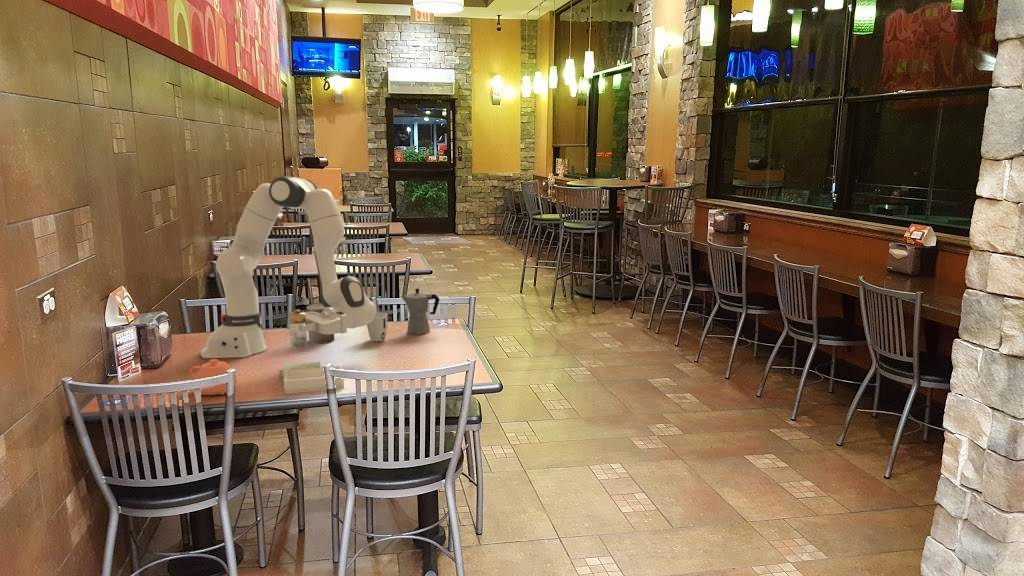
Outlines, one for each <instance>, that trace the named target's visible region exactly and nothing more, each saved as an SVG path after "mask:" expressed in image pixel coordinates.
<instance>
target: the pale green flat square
mask: <svg viewBox="0 0 1024 576" xmlns="http://www.w3.org/2000/svg"><path fill="white" fill-rule="evenodd" d="M320 367H321V361H312V362H301V363H300V362H299V363H288V364H286V363H285V364H283V365H282V372H281V380H282V381H284V375H285V371H286V370H297V369H309V368H320Z"/></svg>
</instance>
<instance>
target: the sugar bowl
mask: <svg viewBox="0 0 1024 576" xmlns="http://www.w3.org/2000/svg"><path fill="white" fill-rule="evenodd" d="M195 369H197V372H196V374H195V375H194V372H193V370H195ZM229 369H232V368H231V366H230V365H229V364H228V363H227V362H225V361H219V360H218V358H210V359H209V360H208V362H205V363H203V364H202V365H201V366H200V365H193V366H192V367H190V369H189V376H190V379H191V380H194V379H201V378H206V377H213V376H218V375H223V374H225V373H226V372H227V370H229ZM237 384H238V379H237V375H236V374H235V386H237ZM201 393H202V394H203V395H206V396H214V395H215V396H217V395H218V394H222V393H225V384H220V385H216V386H213V387H209V388H205V389H202V390H201ZM202 394H201V395H202ZM225 394H226V393H225ZM203 395H202V396H203Z"/></svg>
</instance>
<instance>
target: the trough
mask: <svg viewBox="0 0 1024 576" xmlns="http://www.w3.org/2000/svg"><path fill="white" fill-rule="evenodd" d="M323 367H324V366H322V367H321V366H320V368H309V369H297V370H286V371H285V375H284V380H283V385H284V394H295V393H297V394H298V393H306V392H313V391H314V392H316V391H325V390H326V384H325V377H324V371H323ZM333 368H335V369H342V370H343V365H334V366H333ZM344 380H345V379H341V378H335V385H336V388H337V389H345V381H344ZM337 389H336V390H337ZM326 391H327V390H326Z"/></svg>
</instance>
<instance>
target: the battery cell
mask: <svg viewBox="0 0 1024 576" xmlns="http://www.w3.org/2000/svg"><path fill="white" fill-rule="evenodd" d="M305 312H306V311H303V310H301V309H299V308H298V309H296V308H295V309H294V310H293V311H290V312H289V313H288V318H289V319H288V320H289V322H288V323H290V325H289V333H290V334H289V335H290V347H292V348H304V347H307V345H308V339H307V331H300V330H299V326H300V325H306V317H305Z"/></svg>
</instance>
